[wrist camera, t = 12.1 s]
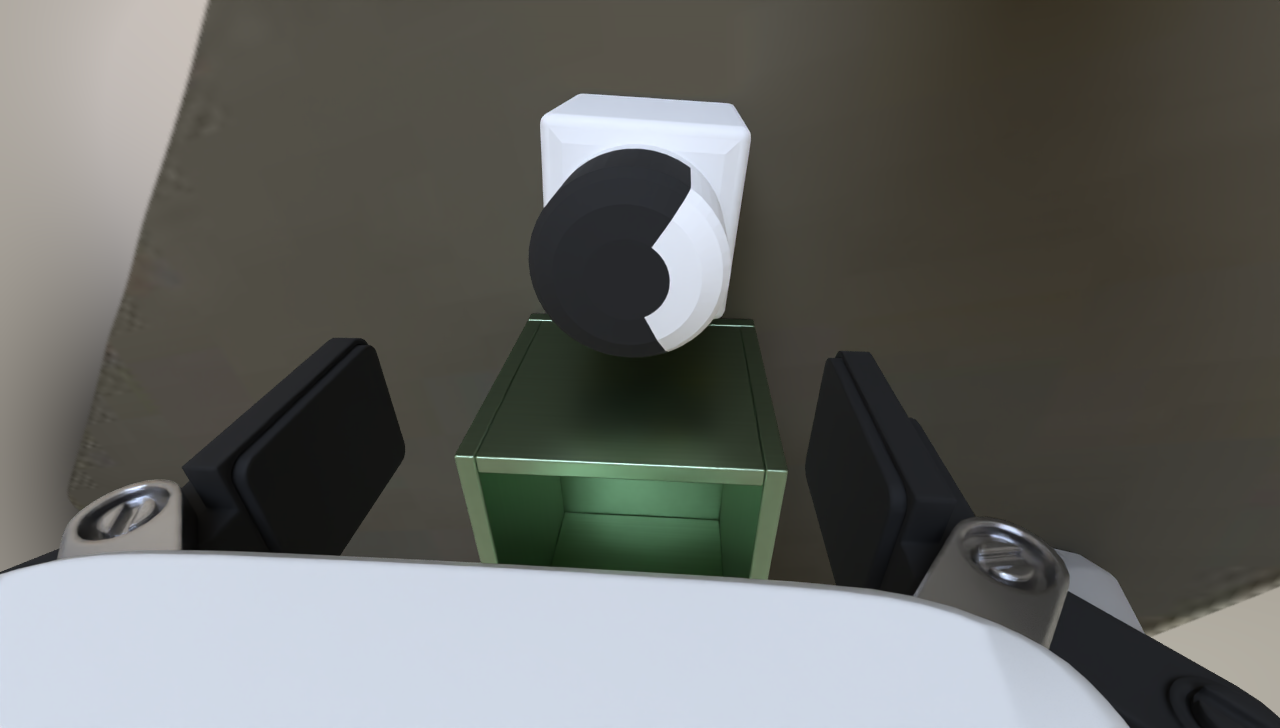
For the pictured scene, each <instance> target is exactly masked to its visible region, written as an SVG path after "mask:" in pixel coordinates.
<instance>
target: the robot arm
mask: <svg viewBox="0 0 1280 728" xmlns="http://www.w3.org/2000/svg"><path fill="white" fill-rule="evenodd" d="M404 455H405V444H404V440H403V437H402V434H401V430H400V427H399V424H398V421H397V418H396V414H395V411H394V408H393V405H392V401H391V398H390V395H389V392H388V388H387V385H386V382H385V379H384V375H383V372H382V369H381V366H380V362H379V359H378V356H377V353H376V350H375V349H374V348H373V347H372V346H370V345H368V344H367V342H366V341H365V340H363V339H361V338H332V339H330V340H329V341H328V342H326V343H325V344H324V345H323V346H322V347H321V348H319V349H318V350H317V351H316V352H315V353H314V354H312V355H311V356H310V357H309V358H308V359H307V360H305V361H304V362H303V363H302V364H301V365H300V366H298V367H297V368H296V369H295V370H294V371H293V372H292V373H290V374H289V375H288V376H287V377H286V378H285V379H283V380H282V381H281V382H280V383H279V384H278V385H276V386H275V387H274V388H273V389H272V390H271V391H269V392H268V393H267V394H266V395H265V396H264V397H263V398H261V399H260V400H259V401H258V402H257V403H256V404H254V405H253V406H252V407H251V408H250V409H249V410H247V411H246V412H245V413H244V414H243V415H242V416H240V417H239V418H238V419H237V420H236V421H235V422H233V423H232V424H231V425H230V426H229V427H228V428H227V429H225V430H224V431H223V432H222V433H221V434H220V435H218V436H217V437H216V438H215V439H214V440H213V441H211V442H210V443H209V444H208V445H207V446H206V447H204V448H203V449H202V450H201V451H200V452H199V453H198V454H196V455H195V456H194V457H193V458H192V459H191V460H189V461H188V462H187V463H186V464H185V465H184V466H182V469H183V470H184V472H185V474H186V475H187V477H188V479H189V480H190V481H189V482H188V483H187V484H186V485H185V486H183V487H182V488H180V486H179V485H178V484H176V483H175V482H173V481H169V480H161V479H159V480H149V481H143V482H139V483H135V484H132V485H128V486H125V487H123V488H120V489H118V490H116V491H113V492H111V493H109V494H107V495H105V496H103V497H101V498H99V499H98V500H96V501H94V502H92V503H91V504H90V505H88V506H87V507H86V508H84V509H83V510H81V511H80V512H79V513H78V514H77V515H76V516H75V517H74V518H73V519H72V520H71V521H70V522H69V523H68V525H67V527H66V529H65V531H64V533H63V536H62V540H61V544H60V548H59V549H57V550H54V551H52V552H49V553H47V554H45V555H42V556H39V557H37V558H34V559H32V560H29V561H27V562H24V563H22V564H20V565H17V566H14V567H12V568H10V569H7V570H4V571H2V572H0V728H1280V718H1279V717H1278V716H1277V715H1276V714H1275V713H1273V712H1272V711H1271V710H1270V709H1269V708H1268V707H1266V706H1265V705H1264V704H1263V703H1262V702H1260V701H1259V700H1257V699H1256V698H1254V697H1253V696H1251V695H1249V694H1248V693H1247V692H1245V691H1243V690H1242V689H1240V688H1239V687H1237V686H1236V685H1234V684H1232V683H1230V682H1228V681H1227V680H1225V679H1223V678H1222V677H1220V676H1218V675H1216V674H1215V673H1213V672H1211V671H1209V670H1207V669H1206V668H1204V667H1202V666H1200V665H1199V664H1197V663H1195V662H1193V661H1191V660H1190V659H1188V658H1186V657H1184V656H1183V655H1181V654H1179V653H1177V652H1176V651H1173V650H1172V649H1170V648H1168V647H1167V646H1164V645H1163V644H1161V643H1160V642H1158V641H1156V640H1154V639H1153V638H1151V637H1149V636H1147V635H1146V634H1144V633H1142V632H1140V631H1138V630H1137V629H1135V628H1133V627H1131V626H1130V625H1128V624H1126V623H1124V622H1123V621H1121V620H1119V619H1117V618H1115V617H1114V616H1112V615H1110V614H1108V613H1107V612H1105V611H1103V610H1101V609H1100V608H1098V607H1096V606H1094V605H1092V604H1091V603H1089V602H1087V601H1085V600H1084V599H1082V598H1080V597H1078V596H1077V595H1075V594H1073V593H1071V592H1069V591H1068V589H1069V583H1070V574H1069V572H1068V569H1067V567H1066V565H1065V562H1064V561H1063V559H1062V558H1061V557H1060V556H1059V555H1058V553H1057V552H1056V551H1055V550H1054V548H1053V547H1051V546H1050V545H1049V544H1048V543H1046V542H1045V541H1044V540H1043V539H1041V538H1040V537H1039V536H1037V535H1036V534H1034V533H1032V532H1030V531H1029V530H1027V529H1025V528H1023V527H1022V526H1019V525H1016V524H1014V523H1011V522H1009V521H1006V520H1002V519H997V518H992V517H976V516H975V515H974V513H973V511H972V510H971V508H970V506H969V505H968V503H967V501H966V500H965V498H964V497H963V495H962V493H961V492H960V490H959V488H958V487H957V485H956V483H955V482H954V480H953V478H952V477H951V475H950V473H949V472H948V470H947V468H946V467H945V465H944V464H943V462H942V460H941V459H940V457H939V455H938V454H937V452H936V450H935V449H934V447H933V445H932V444H931V442H930V440H929V439H928V437H927V435H926V434H925V432H924V431H923V429H922V427H921V426H920V424H919V423H918V422H917V421H916V420H915V419H913V418H908V416H907V414H906V413H905V411H904V409H903V407H902V406H901V404H900V402H899V401H898V399H897V397H896V396H895V394H894V392H893V390H892V389H891V387H890V385H889V384H888V382H887V380H886V379H885V377H884V375H883V373H882V372H881V370H880V368H879V367H878V365H877V363H876V362H875V360H874V358H873V356H872V355H871V354H870V353H869V352H853V351H839V352H838V353H837V355H836V357H835V358H828V359H827V361H826V364H825V368H824V373H823V378H822V383H821V388H820V393H819V398H818V402H817V407H816V412H815V417H814V422H813V427H812V432H811V437H810V442H809V447H808V452H807V457H806V464H805V471H806V478H807V482H808V485H809V489H810V493H811V496H812V500H813V503H814V507H815V511H816V514H817V518H818V521H819V525H820V529H821V532H822V536H823V539H824V543H825V547H826V550H827V554H828V557H829V561H830V565H831V568H832V572H833V575H834V579H835V583H836V585H827V584H817V583H805V582H794V581H779V580H763V579H749V578H736V577H720V576H703V575H687V574H670V573H653V572H636V571H619V570H602V569H585V568H566V567H548V566H530V565H511V564H492V563H473V562H454V561H435V560H416V559H395V558H374V557H353V556H340V555H341V553H342V552H343V550H344V549H345V547H346V546H347V544H348V543H349V541H350V540H351V538H352V536H353V535H354V533H355V532H356V530H357V529H358V527H359V526H360V524H361V523H362V521H363V520H364V518H365V517H366V515H367V514H368V512H369V511H370V509H371V508H372V506H373V505H374V503H375V502H376V500H377V499H378V497H379V496H380V494H381V493H382V491H383V489H384V488H385V486H386V485H387V483H388V482H389V480H390V479H391V477H392V476H393V474H394V473H395V471H396V470H397V468H398V467H399V465H400V464H401V462H402V460H403V458H404Z"/></svg>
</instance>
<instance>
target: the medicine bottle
mask: <svg viewBox="0 0 1280 728" xmlns="http://www.w3.org/2000/svg"><path fill="white" fill-rule="evenodd" d="M540 131H541V154H542V178H543V201H544V208H543V210H542V212H541V214H540V216H539V217H538V219H537V221H536V224H535V227H534V229H533V232H532V236H531V241H530V246H529V269H530V276H531V280H532V284H533V287H534V290H535V292H536V295H537V297H538V299H539V301H540V303H541V305H542V307H543V308H544V310H545V311H546V313H547V314H548V315H549V317H550V318H551V319H552V321H553V322H554V323H555V324H556V325H557V326H558V327H559V328H560V329H561V330H562V331H564V332H565V333H566V334H567V335H568V336H570V337H571V338H573V339H574V340H576V341H577V342H579V343H581V344H582V345H584V346H586V347H588V348H591V349H593V350H595V351H598V352H601V353H604V354H608V355H613V356H618V357H629V358H637V357H649V356H655V355H659V354H663V353H666V352H669V351H672V350H674V349H676V348H679V347H681V346H682V345H684V344H686V343H688V342H689V341H691V340H692V339H694V338H695V337H696V336H697V335H699V334H700V333H701V332H702V331H703V330H704V329H705V328H706V327H707V326H708V325H709V324H710V323H711V321H712V320H713V319H718V318H720V317H721V316H722V315H723V313H724V311H725V306H726V300H727V293H728V286H729V281H730V273H731V267H732V260H733V254H734V247H735V241H736V234H737V228H738V221H739V215H740V208H741V202H742V195H743V189H744V182H745V176H746V169H747V162H748V156H749V149H750V143H751V133H750V131H749V130H748V128H747V126H746V125H745V123H744V121H743V120H742V118H741V117H740V115H739V113H738V112H737V110H736V108H735V107H734V106H733V105H732V104H729V103H714V102H699V101H685V100H670V99H655V98H640V97H625V96H610V95H596V94H578V95H576V96H575V97H573V98H572V99H570V100H568V101H567V102H565V103H563V104H562V105H560V106H558V107H557V108H555V109H553V110H552V111H550V112H548V113H547V114H545V115H544V116H543V117H542V118H541V123H540Z"/></svg>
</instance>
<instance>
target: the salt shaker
mask: <svg viewBox="0 0 1280 728" xmlns="http://www.w3.org/2000/svg"><path fill="white" fill-rule="evenodd" d="M1054 550H1055V551H1056V552H1057V553H1058V555H1059V556H1060V557H1061V558H1062V559H1063V561H1064V562H1065V565H1066V567H1067V569H1068V572H1069V574H1070V583H1069V589H1068V591H1069V592H1071V593H1073V594H1075V595H1077V596H1078V597H1080V598H1082V599H1084V600H1085V601H1087V602H1089V603H1091V604H1092V605H1094V606H1096V607H1098V608H1100V609H1101V610H1103V611H1105V612H1107V613H1108V614H1110V615H1112V616H1114V617H1115V618H1117V619H1119V620H1121V621H1123V622H1124V623H1126V624H1128V625H1130V626H1131V627H1133V628H1135V629H1137V630H1138V631H1140V632H1142V633H1144V631H1143V629H1142V627H1141V625H1140V623H1139V622H1138V620H1137V618H1136V616H1135V614H1134V612H1133V610H1132V608H1131V606H1130V604H1129V602H1128V600H1127V598H1126V597H1125V595H1124V593H1123V591H1122V589H1121V587H1120V585H1119V583H1118V581H1117V579H1115V578H1114V577H1113V576H1112V575H1111V574H1110V573H1109V572H1107V571H1105V570H1104V569H1102V568H1100V567H1099V566H1097V565H1096V564H1094V563H1092V562H1091V561H1089V560H1087V559H1086V558H1084V557H1082V556H1081V555H1079V554H1075V553H1071V552H1067V551H1062V550H1058V549H1054ZM1144 634H1145V633H1144Z"/></svg>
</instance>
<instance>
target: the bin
mask: <svg viewBox="0 0 1280 728" xmlns="http://www.w3.org/2000/svg"><path fill="white" fill-rule="evenodd" d="M455 461H456V465H457V469H458V473H459V477H460V481H461V485H462V489H463V493H464V497H465V501H466V505H467V509H468V513H469V517H470V521H471V525H472V529H473V533H474V537H475V541H476V545H477V549H478V553H479V557H480V561H481V563H492V564H511V565H530V566H548V567H566V568H585V569H602V570H619V571H636V572H653V573H670V574H687V575H703V576H720V577H736V578H749V579H763V580H768V576H769V570H770V565H771V560H772V554H773V549H774V544H775V538H776V533H777V528H778V523H779V517H780V512H781V507H782V501H783V496H784V491H785V485H786V480H787V475H788V469H787V465H786V460H785V456H784V452H783V447H782V443H781V439H780V434H779V430H778V426H777V421H776V417H775V413H774V408H773V404H772V400H771V395H770V391H769V386H768V382H767V378H766V373H765V369H764V365H763V360H762V356H761V352H760V347H759V343H758V339H757V334H756V330H755V326H754V321H753V320H747V319H713V320H712V321H711V323H710V324H709V325H708V326H707V327H706V328H705V329H704V330H703V331H702V332H701V333H700V334H699V335H697V336H696V337H695V338H694V339H692V340H691V341H689V342H688V343H686V344H684V345H682V346H681V347H679V348H676V349H674V350H672V351H669V352H666V353H663V354H659V355H655V356H649V357H637V358H629V357H618V356H613V355H608V354H604V353H601V352H598V351H595V350H593V349H591V348H588V347H586V346H584V345H582V344H581V343H579V342H577V341H576V340H574V339H573V338H571V337H570V336H568V335H567V334H566V333H565V332H564V331H562V330H561V329H560V328H559V327H558V326H557V325H556V324H555V323H554V322H553V321H552V319H551V318H550V317H549V315H548V314H531V316H530V318H529V320H528V322H527V323H526V325H525V327H524V329H523V331H522V333H521V334H520V336H519V338H518V340H517V342H516V344H515V345H514V347H513V349H512V351H511V353H510V355H509V357H508V358H507V360H506V362H505V364H504V366H503V368H502V369H501V371H500V373H499V375H498V377H497V379H496V380H495V382H494V384H493V386H492V388H491V390H490V391H489V393H488V395H487V397H486V399H485V401H484V403H483V404H482V406H481V408H480V410H479V412H478V414H477V415H476V417H475V419H474V421H473V423H472V425H471V426H470V428H469V430H468V432H467V434H466V436H465V437H464V439H463V441H462V443H461V445H460V447H459V449H458V450H457V452H456V454H455Z"/></svg>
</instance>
